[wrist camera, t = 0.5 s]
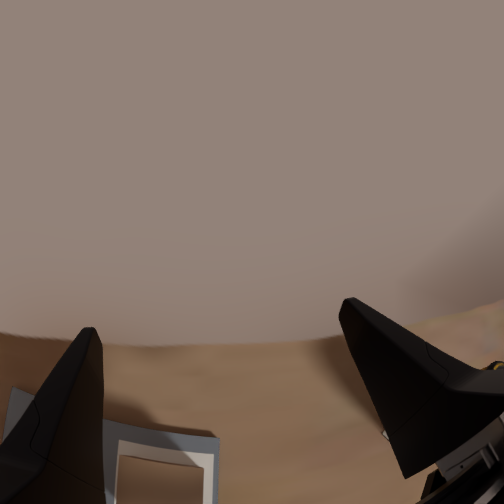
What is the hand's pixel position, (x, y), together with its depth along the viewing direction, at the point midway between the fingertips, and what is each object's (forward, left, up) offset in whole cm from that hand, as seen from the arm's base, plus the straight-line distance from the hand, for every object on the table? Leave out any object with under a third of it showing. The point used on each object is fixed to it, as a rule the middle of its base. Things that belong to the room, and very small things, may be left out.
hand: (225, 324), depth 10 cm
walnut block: (-8, +2, -14) cm, 16 cm away
